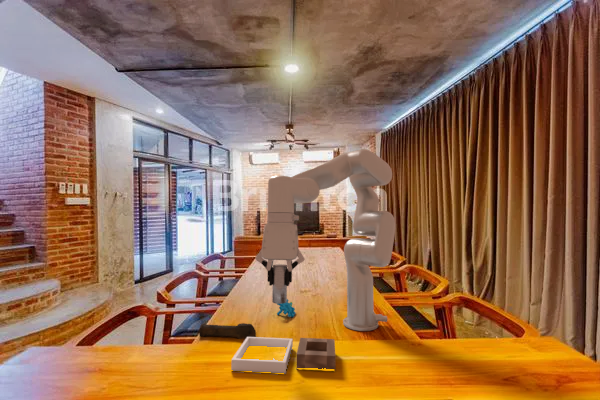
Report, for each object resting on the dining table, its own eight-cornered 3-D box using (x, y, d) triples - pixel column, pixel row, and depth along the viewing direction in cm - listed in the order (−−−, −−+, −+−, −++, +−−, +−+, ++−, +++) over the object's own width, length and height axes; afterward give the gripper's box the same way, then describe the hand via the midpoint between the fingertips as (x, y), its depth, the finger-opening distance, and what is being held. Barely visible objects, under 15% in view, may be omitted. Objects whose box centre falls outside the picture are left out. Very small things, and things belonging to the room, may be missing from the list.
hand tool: (197, 338, 92) (198, 324, 92) (203, 333, 96) (204, 319, 96) (252, 342, 89) (253, 327, 89) (256, 337, 93) (256, 323, 93)
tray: (292, 348, 84) (292, 338, 84) (285, 374, 70) (285, 362, 70) (247, 346, 85) (247, 336, 86) (231, 371, 72) (231, 359, 72)
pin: (287, 299, 80) (287, 264, 81) (285, 304, 76) (286, 266, 77) (273, 299, 80) (274, 264, 81) (271, 303, 76) (271, 266, 77)
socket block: (334, 353, 81) (334, 339, 82) (335, 372, 71) (335, 356, 72) (300, 351, 82) (300, 337, 83) (296, 370, 72) (296, 354, 73)
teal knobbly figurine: (289, 317, 106) (274, 295, 110) (279, 327, 107) (264, 305, 111) (301, 312, 116) (286, 293, 120) (291, 321, 117) (277, 302, 121)
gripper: (310, 219, 83) (309, 282, 82) (254, 219, 84) (253, 281, 83) (309, 219, 76) (308, 288, 74) (248, 219, 77) (246, 287, 75)
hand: (279, 284), depth 79 cm, fingers closed on pin, 4 cm apart
